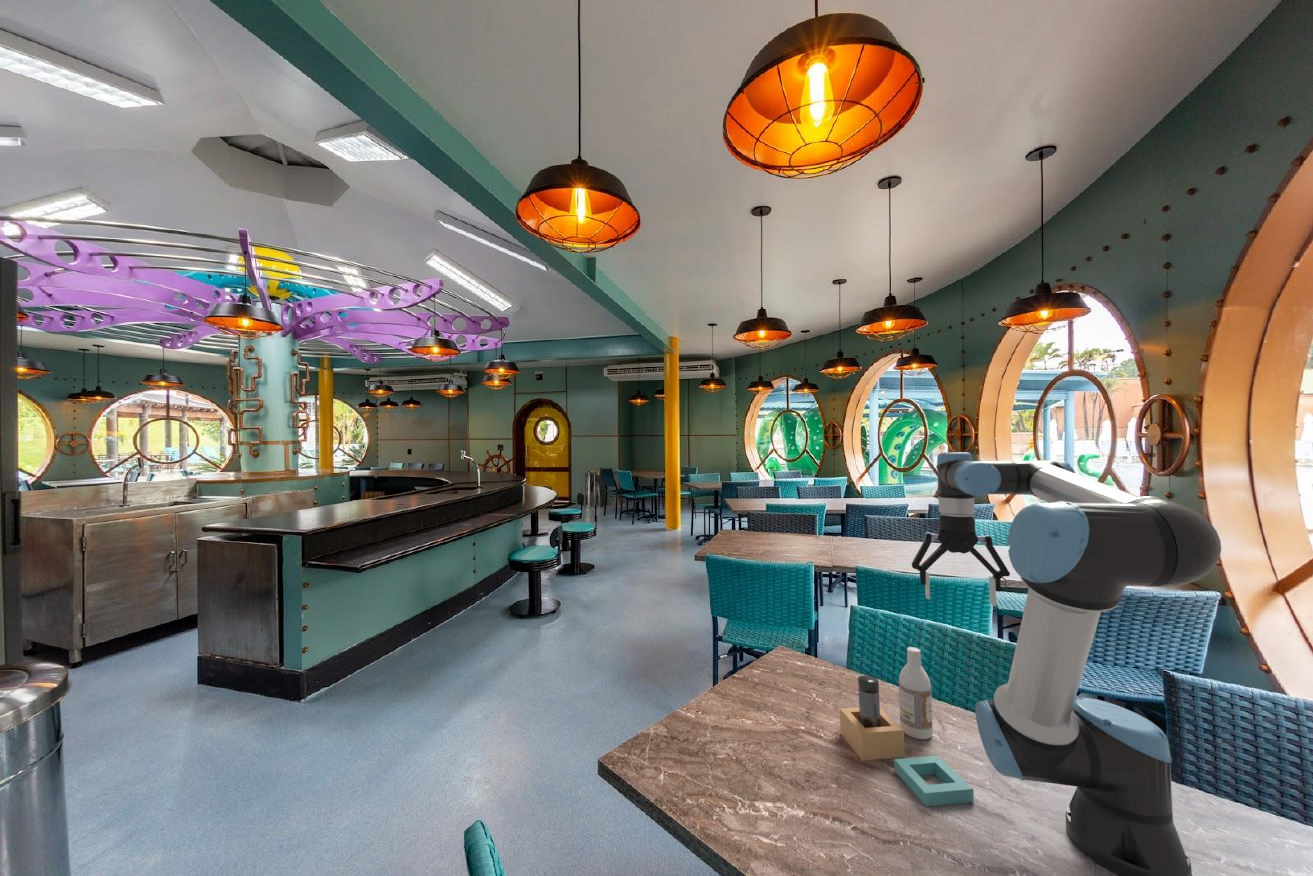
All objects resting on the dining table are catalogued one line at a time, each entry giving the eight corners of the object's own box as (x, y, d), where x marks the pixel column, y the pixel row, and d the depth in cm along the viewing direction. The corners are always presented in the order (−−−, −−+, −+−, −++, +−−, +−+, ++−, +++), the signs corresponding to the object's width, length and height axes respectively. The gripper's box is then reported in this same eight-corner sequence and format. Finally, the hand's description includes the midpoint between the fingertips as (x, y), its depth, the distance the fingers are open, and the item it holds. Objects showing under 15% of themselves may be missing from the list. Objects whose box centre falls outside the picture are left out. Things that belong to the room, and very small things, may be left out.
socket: (904, 757, 104) (904, 730, 104) (862, 760, 103) (861, 733, 103) (879, 730, 114) (878, 706, 114) (840, 733, 113) (839, 708, 113)
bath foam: (927, 744, 108) (924, 658, 109) (896, 732, 113) (893, 649, 114) (936, 732, 113) (933, 649, 114) (905, 720, 118) (903, 641, 119)
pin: (885, 745, 107) (882, 683, 107) (867, 747, 106) (864, 685, 107) (874, 733, 111) (871, 674, 111) (856, 735, 111) (854, 676, 111)
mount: (973, 802, 91) (973, 789, 91) (925, 806, 90) (925, 793, 90) (938, 767, 101) (937, 755, 101) (894, 771, 100) (894, 759, 100)
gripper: (1014, 514, 113) (1017, 602, 112) (898, 510, 123) (901, 591, 123) (1023, 518, 106) (1027, 612, 105) (900, 514, 116) (903, 599, 116)
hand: (959, 601), depth 114 cm, fingers open, 13 cm apart
